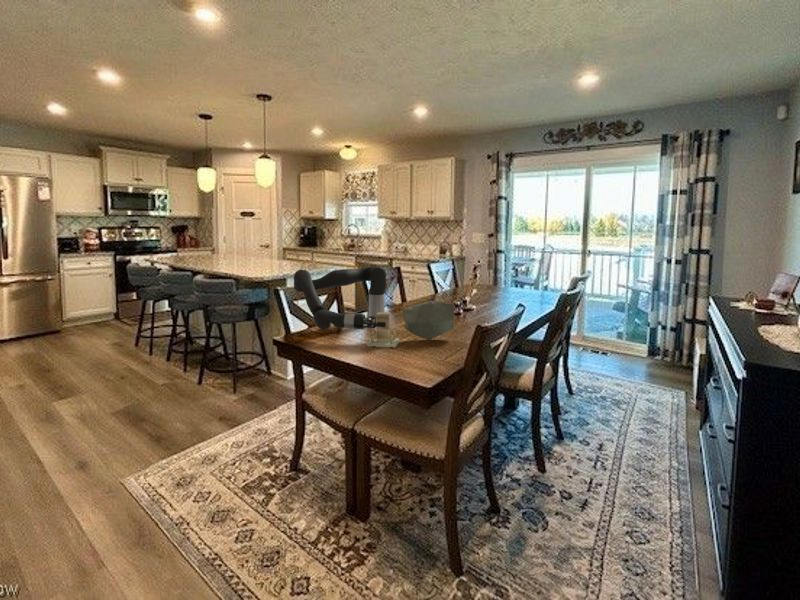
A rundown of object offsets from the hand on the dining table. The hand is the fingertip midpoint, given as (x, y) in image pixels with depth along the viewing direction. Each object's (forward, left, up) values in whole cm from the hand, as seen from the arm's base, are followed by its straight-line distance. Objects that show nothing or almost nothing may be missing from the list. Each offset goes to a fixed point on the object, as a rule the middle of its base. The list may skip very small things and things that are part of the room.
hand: (387, 322), depth 210 cm
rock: (-11, +19, -11) cm, 25 cm away
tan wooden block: (0, -2, -9) cm, 10 cm away
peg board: (0, -2, -11) cm, 11 cm away
